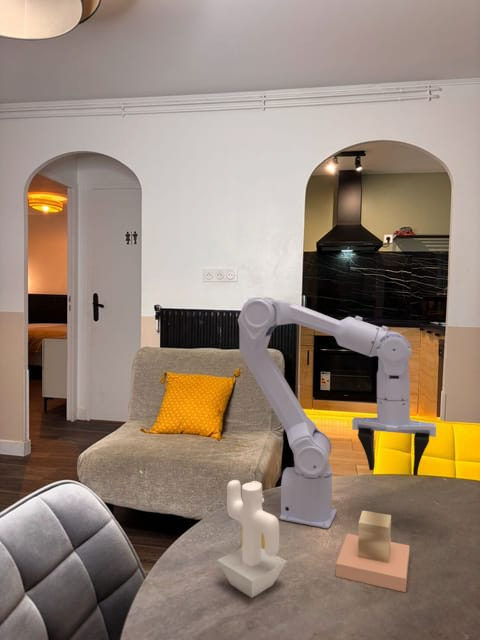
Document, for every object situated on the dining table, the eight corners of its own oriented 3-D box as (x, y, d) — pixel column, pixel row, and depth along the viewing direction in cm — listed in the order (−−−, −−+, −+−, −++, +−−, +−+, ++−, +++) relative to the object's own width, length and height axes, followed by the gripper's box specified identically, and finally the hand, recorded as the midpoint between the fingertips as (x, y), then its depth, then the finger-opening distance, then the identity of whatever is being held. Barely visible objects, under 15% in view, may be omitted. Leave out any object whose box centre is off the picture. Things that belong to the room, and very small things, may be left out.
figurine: (257, 611, 64) (258, 501, 63) (211, 581, 70) (212, 481, 70) (292, 588, 69) (293, 487, 68) (246, 562, 75) (247, 469, 75)
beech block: (357, 557, 74) (358, 522, 73) (361, 543, 78) (362, 510, 78) (388, 563, 72) (388, 527, 72) (390, 548, 76) (391, 515, 76)
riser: (335, 576, 72) (336, 563, 72) (347, 544, 81) (347, 533, 81) (405, 592, 68) (405, 578, 68) (409, 557, 77) (409, 545, 77)
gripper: (349, 399, 86) (349, 473, 87) (435, 405, 80) (435, 483, 81) (355, 392, 93) (355, 461, 93) (435, 397, 87) (435, 470, 88)
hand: (393, 471), depth 87 cm, fingers open, 7 cm apart
